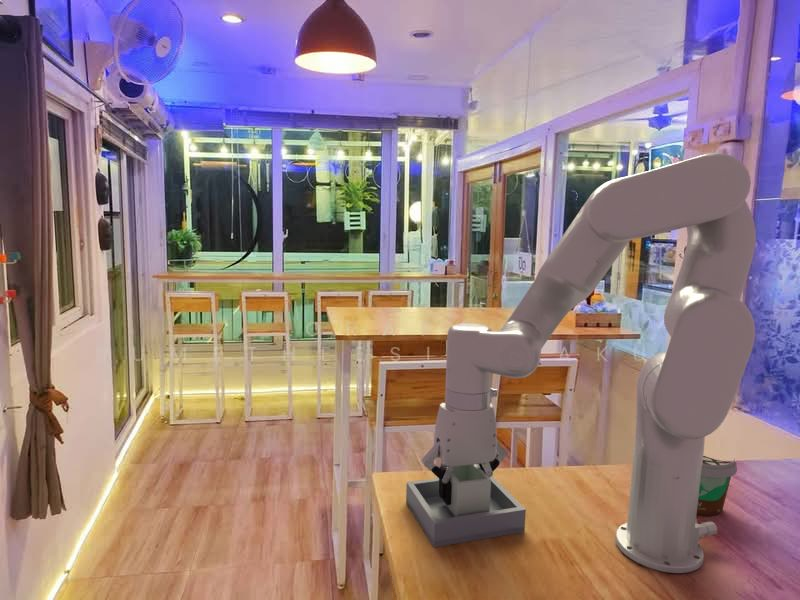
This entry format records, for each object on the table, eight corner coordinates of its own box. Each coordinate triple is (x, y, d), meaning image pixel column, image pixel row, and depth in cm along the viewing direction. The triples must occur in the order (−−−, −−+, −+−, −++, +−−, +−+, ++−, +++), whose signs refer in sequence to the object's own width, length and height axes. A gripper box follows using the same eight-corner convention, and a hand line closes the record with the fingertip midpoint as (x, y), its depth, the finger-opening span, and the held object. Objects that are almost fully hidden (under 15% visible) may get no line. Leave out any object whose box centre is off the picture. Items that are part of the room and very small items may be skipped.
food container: (654, 509, 100) (659, 456, 98) (656, 494, 105) (661, 444, 104) (734, 528, 94) (740, 472, 93) (732, 511, 100) (738, 458, 98)
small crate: (469, 490, 101) (470, 458, 100) (489, 513, 93) (491, 479, 92) (438, 494, 99) (439, 462, 98) (456, 518, 91) (457, 484, 90)
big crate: (486, 491, 105) (487, 471, 105) (524, 531, 92) (525, 509, 91) (406, 502, 100) (406, 482, 100) (433, 547, 87) (434, 523, 87)
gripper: (503, 387, 99) (498, 482, 102) (411, 394, 94) (409, 494, 97) (525, 400, 92) (519, 502, 95) (426, 409, 87) (423, 517, 90)
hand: (463, 497), depth 96 cm, fingers closed on small crate, 6 cm apart
